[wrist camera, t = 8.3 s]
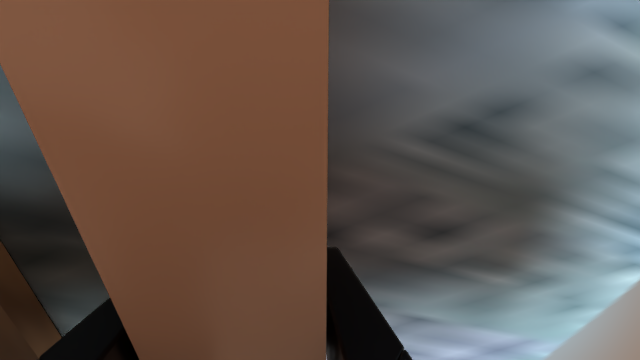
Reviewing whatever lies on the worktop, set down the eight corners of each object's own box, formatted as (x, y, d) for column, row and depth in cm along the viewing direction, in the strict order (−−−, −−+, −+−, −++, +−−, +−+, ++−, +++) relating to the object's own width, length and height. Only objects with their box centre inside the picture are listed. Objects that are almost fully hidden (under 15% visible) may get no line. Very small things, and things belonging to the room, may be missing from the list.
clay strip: (321, 374, 14) (324, 504, 11) (232, 376, 14) (209, 508, 11) (318, -100, 6) (330, -159, 3) (118, -100, 6) (-104, -160, 3)
